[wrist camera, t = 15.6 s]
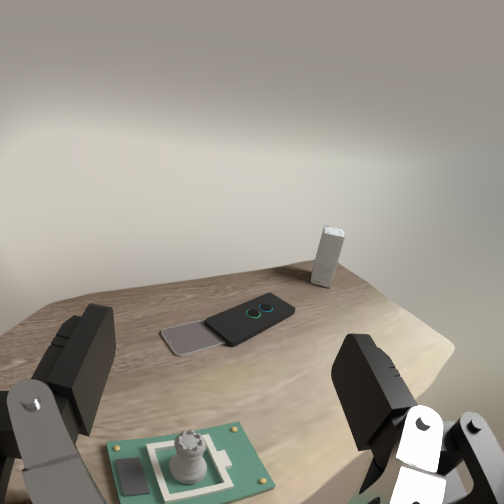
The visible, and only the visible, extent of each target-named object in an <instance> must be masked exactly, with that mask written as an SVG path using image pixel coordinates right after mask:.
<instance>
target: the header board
mask: <svg viewBox="0 0 504 504" xmlns="http://www.w3.org/2000/svg"><path fill="white" fill-rule="evenodd" d="M194 432H195V433H197V434H198V433H200V434H201V435H202V437H203V438H204V439H205V442H206V450H205V451H204V453H203V455H202V457H203V458H204V460H205V462H206V464H207V474H206V476H205V477H204V479H203V480H201V481H200V482H198V483H195V484H184V483H181V482H179V481H177V480H176V479H175V478H174V477H173V476H172V475H171V473H170V470H169V465H170V460H171V458H172V457H173V456H174V454H176V453H177V452H176V448H175V445H174V441H175V438H176V437H177V436H178V435H179V434H181V433H179V434H173V435H166V436H159V437H151V438H143V439H134V440H123V441H110V442H106V443H107V448H108V453H109V458H110V463H111V467H112V471H113V476H114V480H115V484H116V488H117V492H118V495H119V499H120V503H121V504H228V503H232V502H235V501H239V500H242V499H245V498H249V497H252V496H255V495H258V494H261V493H264V492H267V491H269V490H272V489H274V487H275V486H276V485H275V484H274V482H273V480H272V479H271V477H270V476H269V474H268V472H267V471H266V469H265V467H264V465H263V464H262V462H261V460H260V459H259V457H258V455H257V453H256V452H255V450H254V448H253V446H252V445H251V443H250V441H249V439H248V437H247V436H246V434H245V432H244V430H243V428H242V427H241V425H240V423H239V422H235V423H230V424H226V425H221V426H217V427H212V428H207V429H202V430H197V431H194Z"/></svg>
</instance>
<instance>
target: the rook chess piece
mask: <svg viewBox="0 0 504 504" xmlns="http://www.w3.org/2000/svg"><path fill="white" fill-rule="evenodd" d="M174 445H175V448H176V452H177V453H176V454H174V456H173V457H172V458H171V460H170V465H169V470H170V473H171V475H172V476H173V477H174V478H175V479H176V480H177V481H179V482H181V483H184V484H195V483H198V482H200V481H201V480H203V479H204V477H205V476H206V474H207V464H206V462H205V460H204V458H203V457H202V455H203V453H204V451H205V450H206V442H205V439H204V438H203V437H202V435H201V434H200V433H198V434H197V433H195V432H194V430H189V431H188V432H186V431H183V432H181V434H179V435H178V436H177V437H176V438H175V441H174Z"/></svg>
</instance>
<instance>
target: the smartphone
mask: <svg viewBox="0 0 504 504" xmlns="http://www.w3.org/2000/svg"><path fill="white" fill-rule="evenodd" d="M204 323H205V319H204V320H200V321H196V322H191V323H187V324H183V325H179V326H174V327H170V328H166V329H163V330H162V331H161V335H162V337H163V338H164V340H165V341H166V343H167V344H168V346H169V347H170V348H171V350H172V351H173V353H174V354H175V355H176V356H179V357H182V356H186V355H190V354H193V353H197V352H200V351H203V350H207V349H209V348H213V347H216V346H219V345H222V344H225V343H226V342H225V341H224V340H223V339H221V338H220V337H219V336H218V335H216V334H215V333H214V332H213V331H212V330H210V329H209V328H208V327H207V326H206V325H204Z"/></svg>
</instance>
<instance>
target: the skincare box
mask: <svg viewBox="0 0 504 504" xmlns="http://www.w3.org/2000/svg"><path fill="white" fill-rule="evenodd" d="M344 239H345V236H344V231H343V230H341V229H338V228H334V227H330V226H324V229H323V233H322V236H321V240H320V243H319V247H318V251H317V254H316V258H315V262H314V265H313V269H312V274H311V283H313V284H317V285H320V286H323V287H327V288H330V287H331V284H332V280H333V277H334V273H335V270H336V267H337V263H338V260H339V256H340V253H341V249H342V245H343V242H344Z"/></svg>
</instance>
